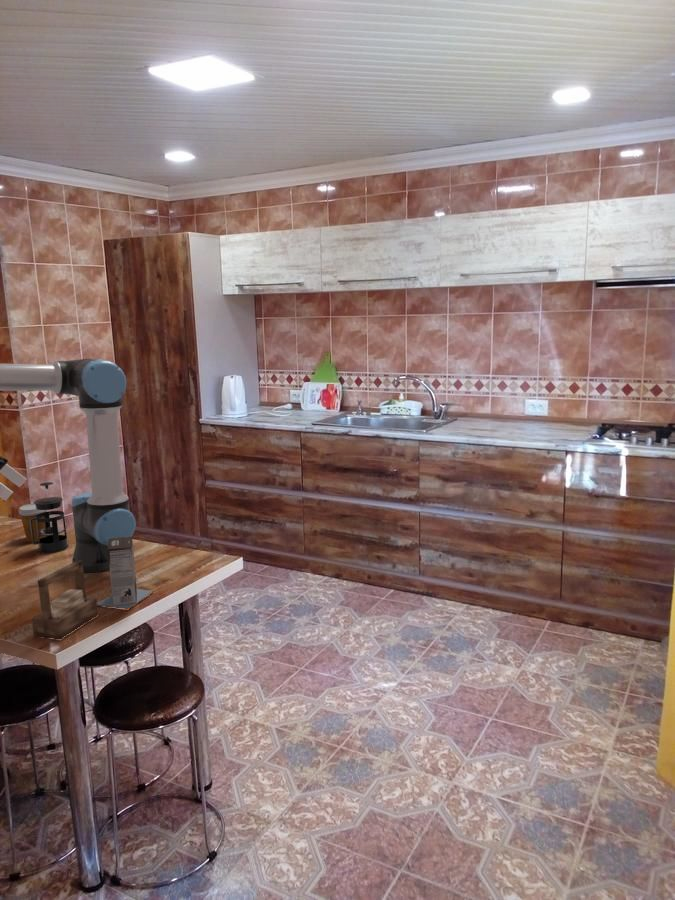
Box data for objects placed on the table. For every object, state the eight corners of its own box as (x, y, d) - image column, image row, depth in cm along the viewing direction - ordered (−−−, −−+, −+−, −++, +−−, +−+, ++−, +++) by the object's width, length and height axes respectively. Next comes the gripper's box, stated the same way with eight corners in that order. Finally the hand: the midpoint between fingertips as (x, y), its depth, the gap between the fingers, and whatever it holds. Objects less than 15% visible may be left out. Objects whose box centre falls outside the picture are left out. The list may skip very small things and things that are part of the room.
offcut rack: (73, 612, 178) (67, 559, 175) (98, 616, 175) (92, 561, 172) (34, 636, 165) (26, 579, 162) (60, 641, 162) (53, 582, 159)
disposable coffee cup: (55, 538, 239) (52, 505, 237) (29, 545, 232) (25, 511, 230) (43, 532, 245) (39, 501, 243) (17, 539, 238) (13, 507, 236)
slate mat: (123, 589, 192) (123, 587, 192) (153, 593, 189) (153, 591, 189) (96, 606, 181) (96, 604, 181) (127, 610, 178) (127, 608, 178)
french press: (65, 541, 235) (58, 477, 231) (74, 548, 228) (67, 482, 223) (30, 549, 228) (22, 483, 224) (37, 556, 221) (29, 488, 216)
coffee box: (113, 593, 188) (108, 538, 185) (137, 590, 190) (132, 535, 187) (112, 606, 180) (106, 548, 176) (137, 602, 181) (132, 546, 178)
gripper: (-48, 437, 178) (19, 488, 184) (-87, 456, 154) (-8, 514, 160) (-29, 416, 178) (37, 468, 184) (-65, 432, 154) (13, 491, 160)
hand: (16, 489), depth 172 cm, fingers open, 13 cm apart
